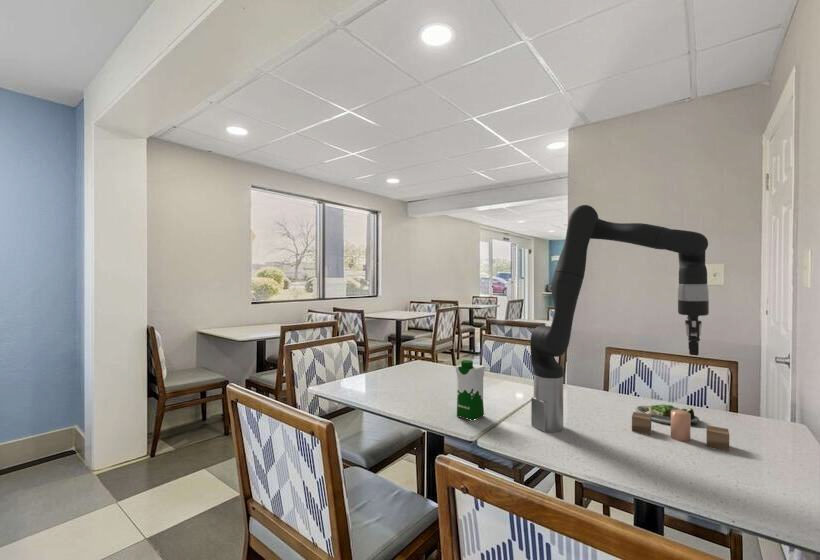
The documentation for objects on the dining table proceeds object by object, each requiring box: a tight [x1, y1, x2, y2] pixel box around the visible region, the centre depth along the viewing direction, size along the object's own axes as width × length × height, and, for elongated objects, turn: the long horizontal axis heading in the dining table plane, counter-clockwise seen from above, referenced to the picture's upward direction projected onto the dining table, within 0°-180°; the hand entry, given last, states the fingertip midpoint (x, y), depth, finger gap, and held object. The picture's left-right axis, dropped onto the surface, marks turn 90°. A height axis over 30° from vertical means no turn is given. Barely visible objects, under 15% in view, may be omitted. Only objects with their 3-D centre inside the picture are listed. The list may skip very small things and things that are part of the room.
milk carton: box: [455, 359, 486, 420], centre depth 139 cm, size 9×9×20 cm
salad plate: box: [635, 403, 702, 425], centre depth 137 cm, size 19×18×5 cm
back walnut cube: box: [631, 411, 652, 436], centre depth 126 cm, size 5×5×5 cm
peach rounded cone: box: [670, 410, 692, 443], centre depth 119 cm, size 5×5×8 cm
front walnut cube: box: [705, 424, 730, 452], centre depth 114 cm, size 5×5×5 cm
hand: (693, 352), depth 118 cm, fingers open, 8 cm apart
